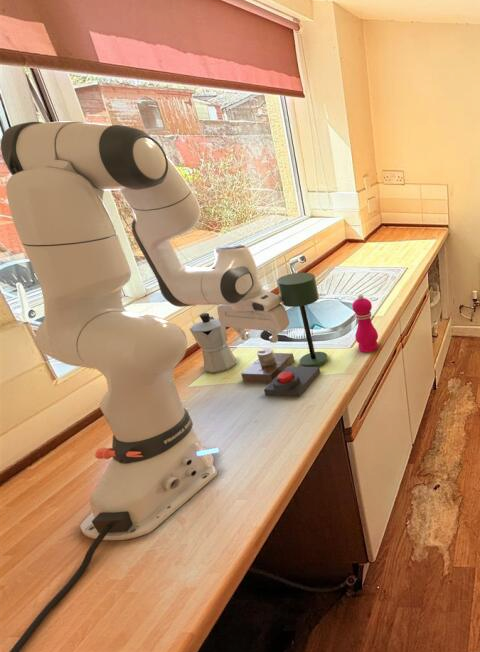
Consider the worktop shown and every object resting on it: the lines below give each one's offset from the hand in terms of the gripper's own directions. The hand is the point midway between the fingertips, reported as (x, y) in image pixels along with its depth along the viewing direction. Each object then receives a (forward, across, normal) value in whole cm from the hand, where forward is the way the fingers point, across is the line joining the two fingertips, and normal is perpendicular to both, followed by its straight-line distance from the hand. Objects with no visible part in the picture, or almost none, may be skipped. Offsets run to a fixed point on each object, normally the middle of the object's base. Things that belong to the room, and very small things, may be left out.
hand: (260, 340), depth 120 cm
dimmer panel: (+11, +1, -1) cm, 11 cm away
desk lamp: (+11, +11, +6) cm, 17 cm away
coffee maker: (+11, -17, 0) cm, 20 cm away
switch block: (+10, +12, -6) cm, 17 cm away
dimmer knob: (+8, +1, -1) cm, 8 cm away
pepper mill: (+12, +24, +18) cm, 32 cm away
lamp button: (+7, +13, -9) cm, 17 cm away
